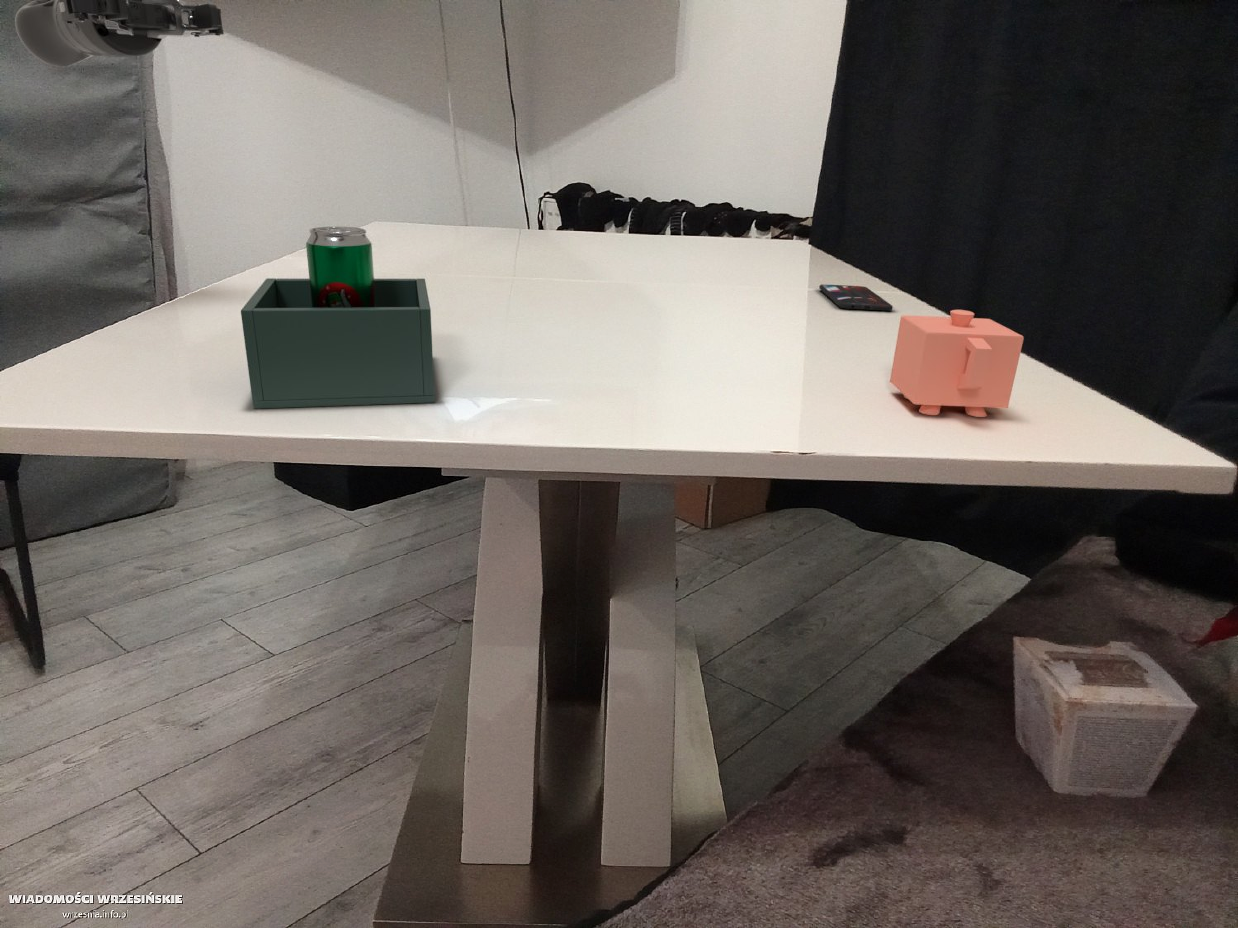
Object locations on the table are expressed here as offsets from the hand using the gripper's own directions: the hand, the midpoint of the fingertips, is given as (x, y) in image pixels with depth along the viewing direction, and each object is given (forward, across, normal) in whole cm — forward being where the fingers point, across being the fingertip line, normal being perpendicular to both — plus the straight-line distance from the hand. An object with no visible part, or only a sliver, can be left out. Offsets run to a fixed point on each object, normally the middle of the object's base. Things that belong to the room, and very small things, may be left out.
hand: (170, 11), depth 81 cm
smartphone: (+40, +72, +30) cm, 88 cm away
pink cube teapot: (+70, +33, +30) cm, 83 cm away
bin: (+32, -2, +30) cm, 44 cm away
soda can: (+32, -2, +30) cm, 44 cm away
